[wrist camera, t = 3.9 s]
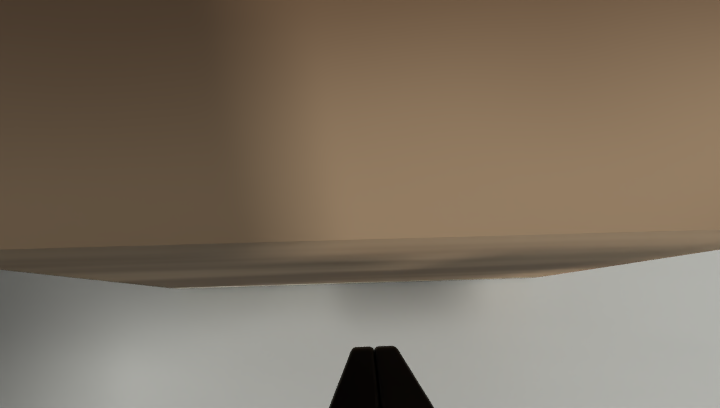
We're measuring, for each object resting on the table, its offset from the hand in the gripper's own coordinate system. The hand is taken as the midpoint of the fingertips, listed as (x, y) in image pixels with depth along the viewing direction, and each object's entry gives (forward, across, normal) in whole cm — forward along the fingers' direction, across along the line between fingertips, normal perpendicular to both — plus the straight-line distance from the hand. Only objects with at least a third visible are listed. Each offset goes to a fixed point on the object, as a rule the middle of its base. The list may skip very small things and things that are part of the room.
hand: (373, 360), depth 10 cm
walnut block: (+8, 0, +2) cm, 8 cm away
